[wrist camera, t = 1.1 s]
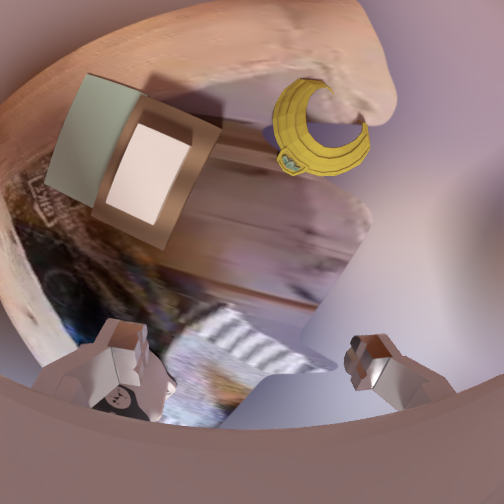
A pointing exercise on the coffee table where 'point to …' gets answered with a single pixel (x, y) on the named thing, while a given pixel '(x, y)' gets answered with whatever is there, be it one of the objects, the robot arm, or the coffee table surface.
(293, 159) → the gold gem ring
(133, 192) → the tile
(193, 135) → the wooden block
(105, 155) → the mat
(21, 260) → the coffee table surface
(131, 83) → the coffee table surface
